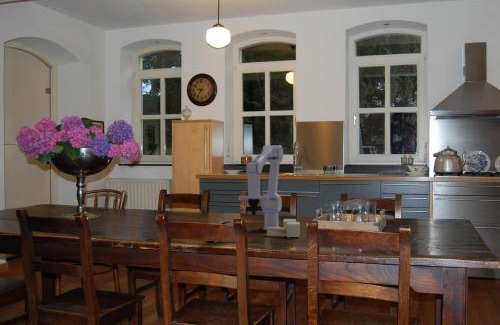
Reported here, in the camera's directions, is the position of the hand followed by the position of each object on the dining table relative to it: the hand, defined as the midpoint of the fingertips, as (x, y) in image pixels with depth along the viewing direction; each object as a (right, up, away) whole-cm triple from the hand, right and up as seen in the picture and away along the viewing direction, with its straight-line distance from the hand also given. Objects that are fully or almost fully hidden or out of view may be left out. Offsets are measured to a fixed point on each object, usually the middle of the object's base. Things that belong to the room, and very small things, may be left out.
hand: (253, 215), depth 235 cm
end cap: (+19, -10, -2) cm, 21 cm away
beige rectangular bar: (+13, -10, -1) cm, 17 cm away
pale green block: (+18, -10, +8) cm, 22 cm away
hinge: (-15, -11, -12) cm, 22 cm away
